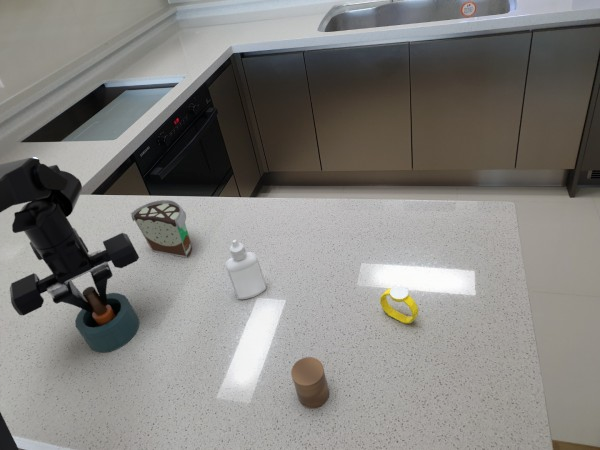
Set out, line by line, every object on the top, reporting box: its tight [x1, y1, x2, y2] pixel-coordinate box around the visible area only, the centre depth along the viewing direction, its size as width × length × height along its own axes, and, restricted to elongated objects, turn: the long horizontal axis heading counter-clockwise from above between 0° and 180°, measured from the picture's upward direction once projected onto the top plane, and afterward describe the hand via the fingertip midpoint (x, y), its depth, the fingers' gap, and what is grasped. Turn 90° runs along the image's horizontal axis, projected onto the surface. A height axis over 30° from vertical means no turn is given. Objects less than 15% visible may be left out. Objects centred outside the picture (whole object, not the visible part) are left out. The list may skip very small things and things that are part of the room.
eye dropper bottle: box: [225, 239, 267, 300], centre depth 80 cm, size 4×6×12 cm
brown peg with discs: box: [81, 286, 116, 327], centre depth 77 cm, size 3×3×8 cm
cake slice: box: [130, 199, 193, 259], centre depth 95 cm, size 12×6×10 cm, turn 66°
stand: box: [291, 356, 330, 409], centre depth 63 cm, size 4×4×6 cm
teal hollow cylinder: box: [75, 292, 140, 353], centre depth 80 cm, size 9×9×5 cm
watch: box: [379, 285, 419, 325], centre depth 71 cm, size 6×3×6 cm, turn 50°
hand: (99, 307), depth 78 cm, fingers closed on brown peg with discs, 2 cm apart
